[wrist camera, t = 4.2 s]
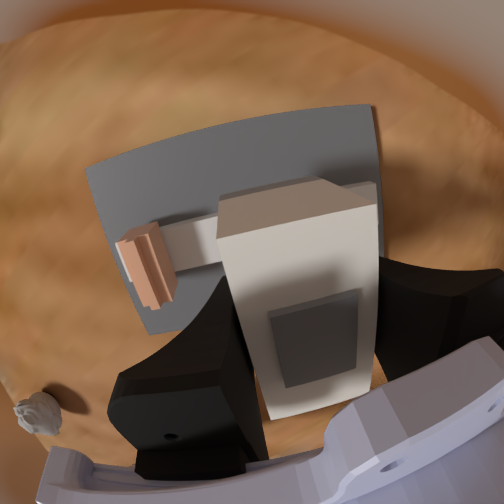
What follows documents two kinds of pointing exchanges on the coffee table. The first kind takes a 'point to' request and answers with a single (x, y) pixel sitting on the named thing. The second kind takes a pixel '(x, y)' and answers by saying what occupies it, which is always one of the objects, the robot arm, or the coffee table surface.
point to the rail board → (225, 189)
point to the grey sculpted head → (39, 414)
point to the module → (303, 289)
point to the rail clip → (149, 265)
